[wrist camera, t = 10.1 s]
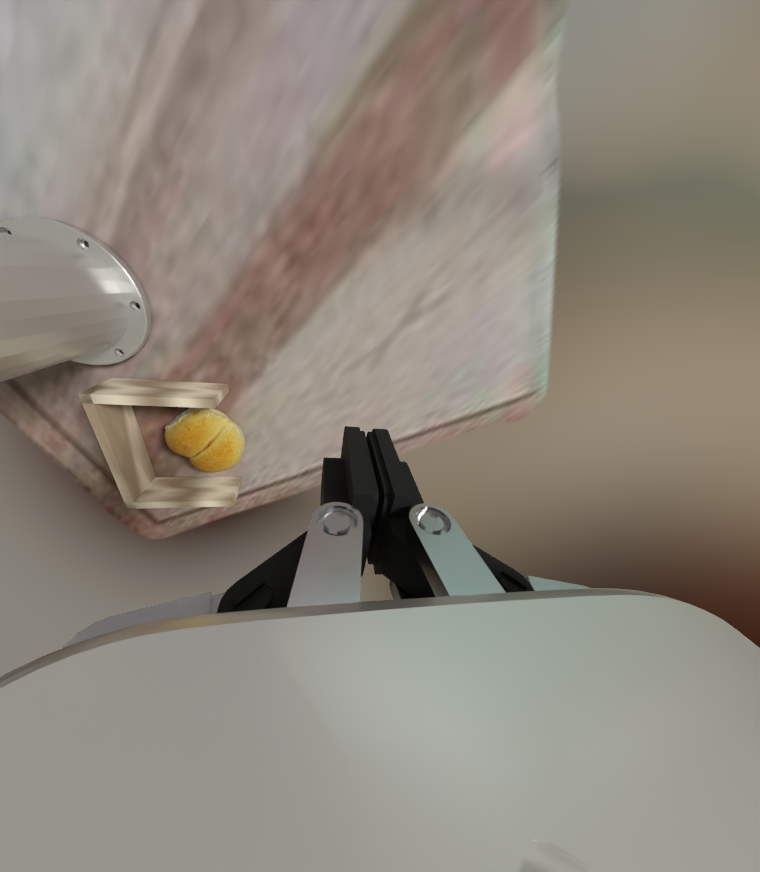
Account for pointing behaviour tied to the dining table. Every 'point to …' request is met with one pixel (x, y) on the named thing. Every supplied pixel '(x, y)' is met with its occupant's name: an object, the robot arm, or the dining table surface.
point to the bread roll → (206, 439)
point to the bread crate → (127, 448)
